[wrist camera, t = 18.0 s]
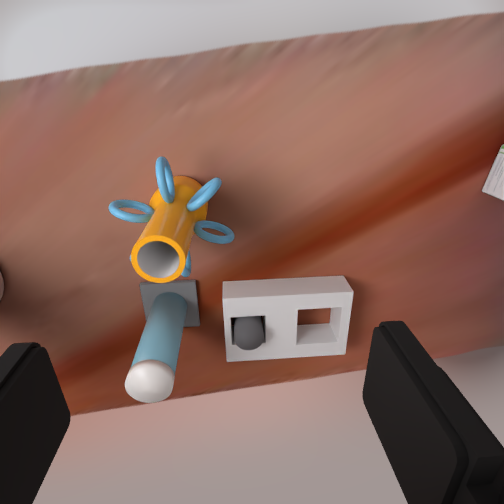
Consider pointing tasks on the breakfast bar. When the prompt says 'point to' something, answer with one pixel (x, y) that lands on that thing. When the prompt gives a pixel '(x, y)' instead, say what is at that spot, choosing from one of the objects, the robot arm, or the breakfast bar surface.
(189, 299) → the mat
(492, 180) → the syrup box
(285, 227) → the breakfast bar surface
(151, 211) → the cylinder
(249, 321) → the plunger
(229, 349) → the housing
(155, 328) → the cartridge
